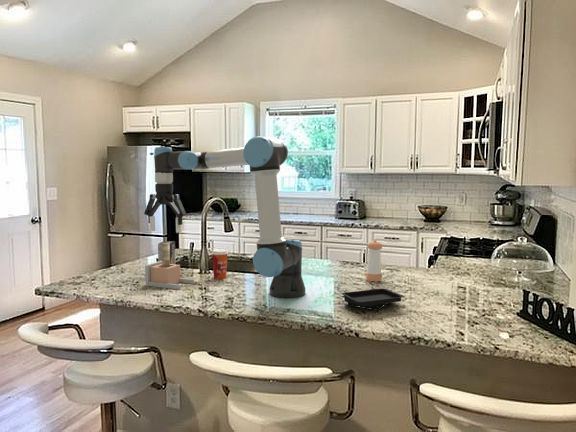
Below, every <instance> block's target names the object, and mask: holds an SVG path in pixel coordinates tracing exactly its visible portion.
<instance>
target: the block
mask: <svg viewBox="0 0 576 432" xmlns="http://www.w3.org/2000/svg"><path fill="white" fill-rule="evenodd" d="M180 278H181V264H176V263H175V264H170V267H167V268H165V267H162V264H159V265H156V266H153V267H151V282H160V283H168V284H177V285H179V284H181V282H180Z"/></svg>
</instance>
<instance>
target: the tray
mask: <svg viewBox="0 0 576 432" xmlns="http://www.w3.org/2000/svg"><path fill="white" fill-rule="evenodd" d="M340 295H342V296H341V297H342V298H343V299H344V300H343V301H345V303H347V306H349V305H353V306H352V307H355V306H360V307H365V308H364V309H366V308H371V309H370V310H372V309H379V308H380V309H382V308H383V307H384V306H383V305H385V304H386V303H388V304H391V303H399V302H402V298H404V297H405V296H404V295H403V294H399V292H398V293H397V292H395V291H393V290H391V289H387V288H371V289H365V290H356V291H347V292H341V294H340ZM386 305H387V304H386ZM386 305H385V306H386ZM382 306H383V307H382ZM360 307H359V308H360ZM381 307H382V308H381ZM380 309H379V310H380Z"/></svg>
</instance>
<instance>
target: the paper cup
mask: <svg viewBox="0 0 576 432" xmlns="http://www.w3.org/2000/svg"><path fill="white" fill-rule="evenodd" d="M228 254H229V252H228V250H227V249H223V248H220V249H219V248H218V249H213V250H212V252H211V255H212V268H213V278H214V279H215V280H224V279H227V269H228Z"/></svg>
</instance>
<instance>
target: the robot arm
mask: <svg viewBox="0 0 576 432" xmlns="http://www.w3.org/2000/svg"><path fill="white" fill-rule="evenodd" d="M153 151H154V155H153V158H154V159H153V160H154V182H155V183H154V184H155V185H154V186H155V187H154V189H155V190H154V191H155V193H150V194H149V200H148V202H147V204H146V206H145V207H146V208H145V210H144V212H143V213H144V215H145V216H148V224H149V232H154V231H156V216H155V213H156V212H157V210H158V209H159V207H160V206H161V205H166V206H169V207H170V208H171V210H172V211H173V213H174V214H175V216H176V217H175V233H176V234H179V233H182V225H183V217H185V216H187V212H186V210H185V208H184V206H183V203H182V200H181V197H180V194H178V193H177V194H176V193H175V194H173V192H174V184H173V182H174V175H173V172H174V170H186V171H187V170H201V171H203V170H209V169H216V168H218V169H219V168H226V167H227V168H228V167H238V166H241V167H242V166H249V173H250V174H251V175H252V176H253V177H254V185H255V196H256V207H257V209H256V210H257V218H258V220H257V221H258V232H259V239H258V240H257V241H256V251H255V253H254V254H253V256H252V263H253V267H254V269H255V270H256V272H257V273H258V274H260V275H261V276H263V277H266V278H272V280H271V283H270V286H269V295H271V296H273V297H276V298H283V299H284V298H286V299H290V298H291V299H292V298H299V297H303V296H305V295H306V286H305V283H304V280H303V276H302V275H303V274H302V265H303V263H302V262H303V261H302V260H303V259H302V257H303V247H302V246H303V245H302V244H303V243H302V241H301V240H299V239H293V238H289V239H288V238H285V237H284V236H283V235H282V223H281V221H282V220H281V214H280V211H281V210H280V201H279V200H280V199H279V198H280V197H279V188H278V187H279V186H278V177H277V175H278V174H279V173H280V171H281V166H282V165H283V164H284V163H285V162H286V161H287V159H288V155H289V150H288V147H287V145H286V143H285V141H283V140H282V139H280V138H277V137H271V136H266V135H260V136H253V137H251V138H250V139H249V140H248V141H247V142H246V144H245V145H244V146H243V147H236V148H228V149H226V148H225V149H220V150H218V149H217V150H209V151H201V152H199V151H198V152H197V151H191V150H184V151H182V150H181V151H173V149H172V147H170V146H157V147H155V148H154V150H153ZM155 200H156V201H155Z"/></svg>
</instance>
